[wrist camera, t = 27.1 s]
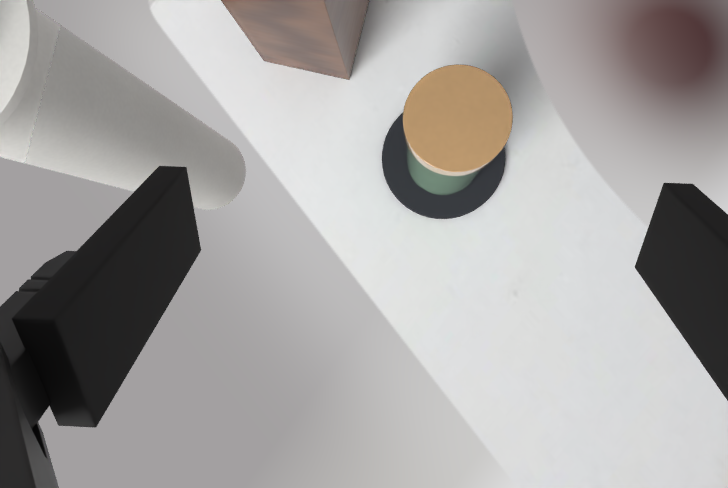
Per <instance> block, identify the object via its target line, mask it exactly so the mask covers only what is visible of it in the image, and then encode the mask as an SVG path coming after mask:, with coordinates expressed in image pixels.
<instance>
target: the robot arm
mask: <svg viewBox="0 0 728 488" xmlns="http://www.w3.org/2000/svg"><path fill="white" fill-rule="evenodd" d="M200 251H201V247H200V242H199V237H198V230H197V225H196V220H195V214H194V209H193V202H192V197H191V191H190V185H189V180H188V174H187V168H186V167H171V166H159V167H158V168H157V169H156V170H155V171H154V172H153V173H152V174H151V175H150V176H149V177H148V178H147V179H146V180H145V181H144V182H143V183H142V184H141V186H140V187H139V188H138V189H137V190H136V191H135V192H134V193H133V194H132V195H131V196H130V197H129V198H128V199H127V200H126V201H125V202H124V203H123V204H122V205H121V206H120V207H119V208H118V209H117V210H116V211H115V212H114V213H113V215H112V216H110V218H109V219H108V220H107V221H106V222H105V223H104V224H103V225H102V226H101V227H100V228H99V229H98V230H97V231H96V232H95V233H94V234H93V235H92V236H91V237H90V238H89V239H88V240H87V241H86V242H85V243H84V244H83V245H82V246H81V247H80V249H79V250H78V251H66V252H64V253H62V254H60V255H58V256H57V257H55V258H53V259H51V260H49V261H48V262H46V263H45V264H44V265H43V266H42V267H41V268H39V270H37V271H36V272H35V273H34V274H33V275H32V276H31V280H27V281H26V282H25V283H24V284H23V285H22V286H21V287H20V288H19V291H16V292H15V293H14V294H13V295H12V296H11V297H10V298H9V299H8V300H7V301H6V302H5V303H4V304H2V306H1V307H0V488H59V487H58V483H57V480H56V477H55V473H54V470H53V466H52V463H51V459H50V456H49V452H48V449H47V446H46V442H45V438H44V435H43V432H42V430H41V428H40V425H39V424H38V421H39V419H40V418H41V416H42V415H43V413H44V412H45V411H46V409H47V408H48V407H49V405H50V407H51V410H52V412H53V414H54V416H55V419H56V421H57V423H58V425H59V426H79V427H96V426H97V424H98V423H99V421H100V420H101V418H102V416H103V415H104V413H105V411H106V410H107V408H108V406H109V404H110V403H111V401H112V399H113V398H114V396H115V394H116V393H117V391H118V389H119V388H120V386H121V384H122V382H123V381H124V379H125V377H126V376H127V374H128V372H129V371H130V369H131V367H132V366H133V364H134V362H135V361H136V359H137V357H138V355H139V354H140V352H141V351H142V349H143V347H144V345H145V344H146V342H147V340H148V339H149V337H150V335H151V334H152V332H153V330H154V328H155V327H156V325H157V324H158V321H159V320H160V318H161V317H162V315H163V313H164V312H165V310H166V308H167V307H168V305H169V303H170V302H171V300H172V298H173V296H174V295H175V293H176V292H177V290H178V288H179V286H180V285H181V283H182V281H183V280H184V278H185V276H186V275H187V273H188V271H189V270H190V268H191V266H192V265H193V263H194V261H195V259H196V258H197V256H198V254H199V253H200ZM635 268H636V270H637V271H638V273H639V274H640V275H641V277H642V278H643V280H644V281H645V283H646V284H647V285H648V287H649V288H650V290H651V291H652V293H653V294H654V296H655V297H656V298H657V300H658V301H659V303H660V304H661V306H662V307H663V308H664V310H665V311H666V313H667V314H668V316H669V317H670V318H671V320H672V321H673V323H674V324H675V326H676V327H677V329H678V330H679V331H680V333H681V334H682V336H683V337H684V339H685V340H686V341H687V343H688V344H689V346H690V347H691V349H692V350H693V352H694V353H695V354H696V356H697V357H698V359H699V360H700V362H701V363H702V364H703V366H704V367H705V369H706V370H707V372H708V373H709V375H710V376H711V377H712V379H713V380H714V382H715V383H716V385H717V386H718V387H719V389H720V390H721V392H722V393H723V395H724V396H725V398H726V399H727V400H728V214H726V213H725V212H724V211H723V210H722V209H721V208H720V207H718V206H717V205H716V204H715V203H714V202H713V201H712V200H710V199H709V198H708V197H707V196H706V195H705V194H703V193H702V192H701V191H700V190H699V189H698V188H697V187H696V186H694V185H693V184H680V183H664V184H663V187H662V190H661V193H660V196H659V199H658V202H657V204H656V207H655V210H654V213H653V216H652V219H651V222H650V225H649V227H648V230H647V233H646V236H645V239H644V242H643V245H642V248H641V251H640V254H639V256H638V259H637V262H636V265H635Z"/></svg>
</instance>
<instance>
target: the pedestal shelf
mask: <svg viewBox="0 0 728 488" xmlns="http://www.w3.org/2000/svg"><path fill="white" fill-rule="evenodd" d="M221 1H222V2H223V4H224V5H225V7H226V8H227V9H228V11H229V12H230V14H231V15H232V17H233V18H234V19H235V21H236V22H237V24H238V25H239V26H240V28H241V29H242V31H243V32H244V33H245V35H246V36H247V38H248V39H249V40H250V42H251V43H252V45H253V46H254V47H255V49H256V50H257V52H258V53H259V54H260V56H261V57H262V59H263V60H264V61H267V62H271V63H276V64H280V65H285V66H289V67H294V68H298V69H303V70H307V71H312V72H316V73H321V74H325V75H330V76H334V77H339V78H343V79H348V80H349V79H350V75H351V71H352V67H353V63H354V59H355V55H356V51H357V47H358V43H359V39H360V36H361V32H362V28H363V24H364V20H365V16H366V12H367V8H368V4H369V0H221Z"/></svg>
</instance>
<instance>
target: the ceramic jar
mask: <svg viewBox="0 0 728 488" xmlns="http://www.w3.org/2000/svg"><path fill="white" fill-rule="evenodd" d="M512 120H513V114H512V107H511V103H510V100H509V97H508V95H507V93H506V91H505V89H504V88H503V87H502V85H501V84H500V83H499V82H498V81H497V80H496V79H495V78H494V77H493V76H492V75H490V74H489V73H487V72H485V71H484V70H481V69H479V68H476V67H473V66H468V65H449V66H444V67H441V68H438V69H436V70H434V71H432V72H430V73H428V74H427V75H426V76H424V77H423V78H422V79H421V80H420V81H418V83H417V84H416V85H415V86H414V87H413V89H412V90H411V92H410V94H409V96H408V98H407V100H406V103H405V106H404V112H403V131H404V137H405V141H406V144H407V166H408V170H409V173H410V175H411V177H412V178H413V180H414V181H415V182H416V183H417V184H418V185H419V186H420V187H421V188H422V189H424V190H426V191H428V192H430V193H433V194H438V195H449V194H454V193H456V192H459V191H461V190H463V189H464V188H466V187H467V186H468V185H469V184H470V183H471V182H472V181H473V180H474V179H475V177H476V176H477V175H478V174H479V172H480V171H481V170H482V169H483V168H484V167H485V166H487V165H488V164H489V163H490V162H491V161H493V160H494V158H495V157H496V156H497V155H498V154H499V153H500V151H501V150H502V149H503V147H504V146H505V144H506V142H507V140H508V138H509V135H510V132H511V128H512Z"/></svg>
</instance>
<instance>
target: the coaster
mask: <svg viewBox="0 0 728 488" xmlns="http://www.w3.org/2000/svg"><path fill="white" fill-rule="evenodd" d="M382 166H383V171H384V176H385V179H386V181H387V184H388V186H389V188H390V190H391V191H392V193H393V194H394V195H395V197H396V198H397V199H398V200H399V201H400V202H401V203H402V204H403V205H404V206H406V207H407V208H409V209H410V210H412V211H413V212H415V213H418V214H420V215H423V216H426V217H430V218H436V219H449V218H455V217H460V216H463V215H465V214H468V213H470V212H472V211H474V210H475V209H477V208H478V207H480V206H481V205H482V204H484V203H485V202H486V201H487V200H488V199H489V198H490V197H491V195H492V194H493V193H494V191H495V190H496V188H497V187H498V185H499V183H500V180H501V178H502V175H503V172H504V166H505V148H504V147H503V149H502V150H501V151H500V153H499V154H498V155H497V156H496V157H495V158H494V160H493V161H491V162H490V163H489V164H488V165H487V166H485V167H484V168H483V169H482V170H481V171H480V172H479V174H478V175H477V176H476V177H475V179H474V180H473V181H472V182H471V183H470V184H469V185H468V186H467V187H466V188H464V189H463V190H461V191H459V192H456V193H454V194H449V195H438V194H433V193H430V192H428V191H426V190H424V189H422V188H421V187H420V186H419V185H418V184H417V183H416V182H415V181H414V180H413V178H412V177H411V175H410V173H409V170H408V166H407V144H406V141H405V137H404V131H403V113H402V114H401V115H400V116H399V117H398V118H397V119H396V121H395V122H394V123H393V125H392V126H391V128H390V129H389V132H388V134H387V136H386V139H385V142H384V145H383V151H382Z"/></svg>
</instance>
